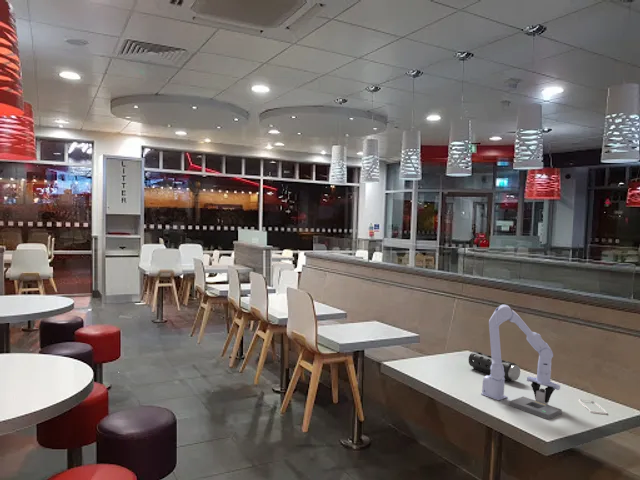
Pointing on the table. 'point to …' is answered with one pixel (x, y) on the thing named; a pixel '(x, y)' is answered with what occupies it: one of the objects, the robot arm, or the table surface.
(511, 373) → the muzzle brake
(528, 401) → the charging plate
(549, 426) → the table surface
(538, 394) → the charger plug
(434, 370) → the table surface
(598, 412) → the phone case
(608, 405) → the table surface
